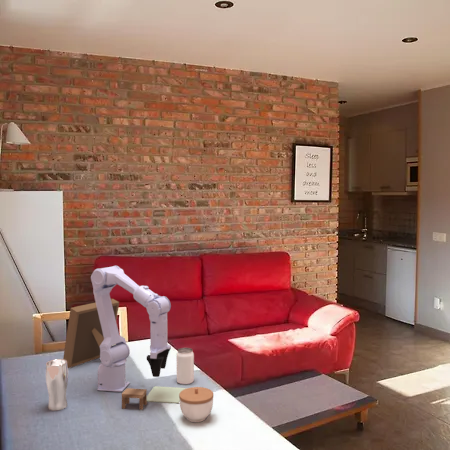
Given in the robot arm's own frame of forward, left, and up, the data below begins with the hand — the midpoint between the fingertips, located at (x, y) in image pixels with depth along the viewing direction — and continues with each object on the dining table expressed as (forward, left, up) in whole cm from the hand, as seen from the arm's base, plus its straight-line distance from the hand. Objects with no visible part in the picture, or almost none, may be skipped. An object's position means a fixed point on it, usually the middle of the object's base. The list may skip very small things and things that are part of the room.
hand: (159, 372), depth 160 cm
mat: (+1, +4, -10) cm, 10 cm away
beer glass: (-32, -10, -10) cm, 35 cm away
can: (+5, +17, -10) cm, 20 cm away
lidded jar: (+15, -11, -10) cm, 21 cm away
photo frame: (-37, +32, -10) cm, 50 cm away
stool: (-7, -6, -10) cm, 13 cm away
